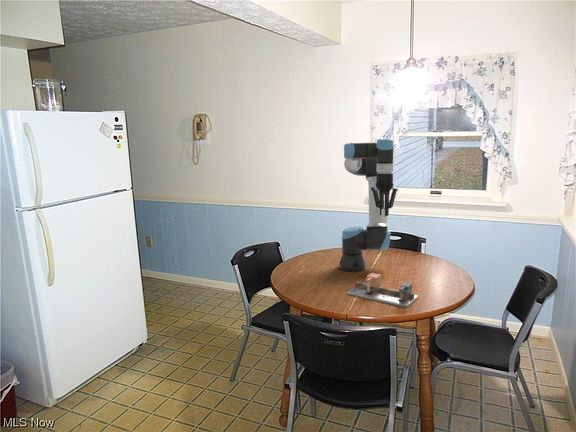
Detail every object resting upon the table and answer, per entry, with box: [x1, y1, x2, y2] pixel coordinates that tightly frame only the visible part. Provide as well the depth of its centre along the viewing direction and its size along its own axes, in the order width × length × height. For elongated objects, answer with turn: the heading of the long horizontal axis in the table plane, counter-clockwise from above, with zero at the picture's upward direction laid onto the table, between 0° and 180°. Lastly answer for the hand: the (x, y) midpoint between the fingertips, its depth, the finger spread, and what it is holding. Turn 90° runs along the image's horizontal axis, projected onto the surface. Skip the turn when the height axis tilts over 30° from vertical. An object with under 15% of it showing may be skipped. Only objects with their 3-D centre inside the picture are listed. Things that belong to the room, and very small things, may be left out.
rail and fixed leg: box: [355, 281, 416, 301], centre depth 201 cm, size 29×9×6 cm, turn 53°
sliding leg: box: [365, 272, 382, 293], centre depth 204 cm, size 5×9×7 cm, turn 143°
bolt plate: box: [346, 285, 419, 309], centre depth 202 cm, size 30×13×1 cm, turn 53°
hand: (384, 222), depth 201 cm, fingers closed
